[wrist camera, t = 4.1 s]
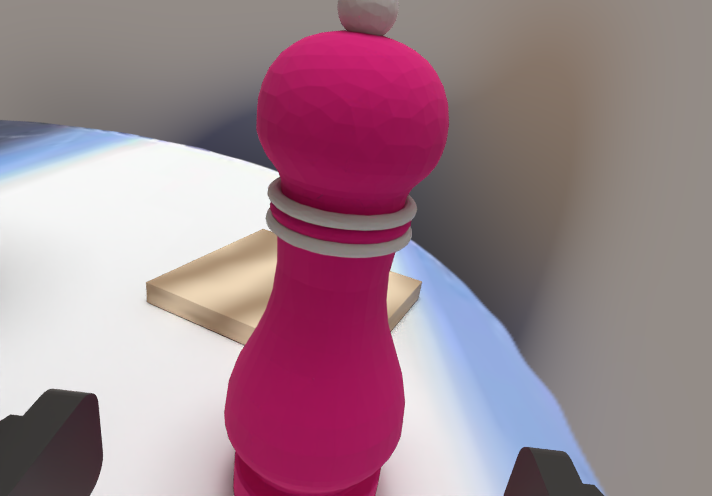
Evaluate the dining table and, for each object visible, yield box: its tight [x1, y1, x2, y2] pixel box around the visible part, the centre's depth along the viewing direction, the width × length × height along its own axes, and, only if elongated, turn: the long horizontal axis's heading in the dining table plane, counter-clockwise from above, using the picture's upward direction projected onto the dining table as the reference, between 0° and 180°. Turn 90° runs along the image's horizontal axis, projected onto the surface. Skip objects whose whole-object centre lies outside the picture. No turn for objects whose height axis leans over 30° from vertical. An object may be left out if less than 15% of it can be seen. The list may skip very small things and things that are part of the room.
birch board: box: [146, 229, 422, 345], centre depth 36 cm, size 15×13×2 cm
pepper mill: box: [224, 0, 449, 496], centre depth 18 cm, size 7×7×20 cm
